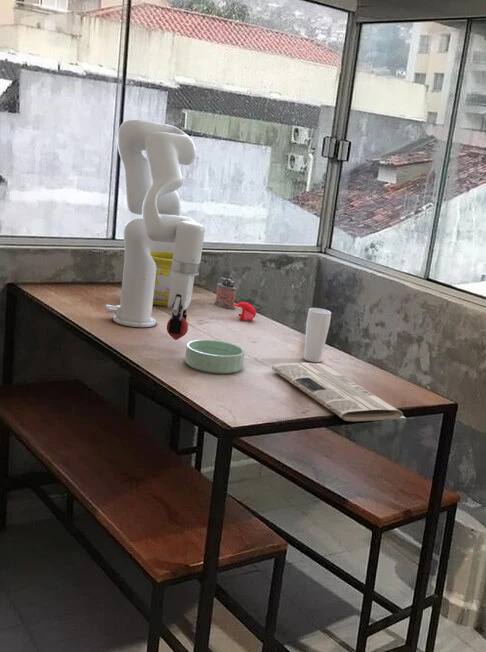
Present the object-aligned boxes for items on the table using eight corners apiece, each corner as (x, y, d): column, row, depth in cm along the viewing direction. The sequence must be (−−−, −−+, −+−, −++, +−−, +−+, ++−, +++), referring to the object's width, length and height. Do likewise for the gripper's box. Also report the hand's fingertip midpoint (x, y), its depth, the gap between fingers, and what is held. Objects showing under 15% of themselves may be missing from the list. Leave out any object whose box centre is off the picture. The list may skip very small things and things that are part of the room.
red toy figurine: (249, 317, 279) (252, 300, 277) (257, 321, 274) (260, 304, 273) (228, 316, 274) (231, 299, 273) (236, 321, 269) (239, 304, 268)
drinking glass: (306, 363, 233) (314, 313, 230) (297, 356, 239) (304, 307, 235) (327, 363, 236) (335, 314, 233) (317, 356, 242) (325, 308, 238)
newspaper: (271, 372, 218) (272, 362, 218) (332, 371, 229) (333, 362, 228) (340, 422, 189) (342, 410, 188) (407, 418, 199) (409, 408, 198)
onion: (181, 344, 223) (185, 316, 221) (161, 339, 224) (165, 312, 222) (189, 339, 229) (193, 312, 227) (170, 335, 230) (173, 308, 228)
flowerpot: (122, 297, 276) (127, 250, 273) (160, 293, 292) (165, 248, 288) (161, 310, 268) (167, 261, 264) (198, 305, 283) (203, 259, 279)
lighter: (236, 308, 289) (239, 281, 286) (230, 309, 286) (233, 281, 283) (218, 303, 293) (222, 276, 290) (212, 303, 290) (216, 276, 287)
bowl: (179, 369, 208) (182, 350, 207) (190, 354, 223) (192, 336, 222) (238, 378, 209) (241, 359, 208) (245, 362, 224) (247, 345, 223)
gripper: (177, 259, 229) (169, 320, 234) (165, 270, 212) (156, 335, 217) (204, 264, 229) (195, 325, 234) (193, 275, 213) (184, 340, 218)
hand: (177, 329), depth 226 cm, fingers closed on onion, 6 cm apart
